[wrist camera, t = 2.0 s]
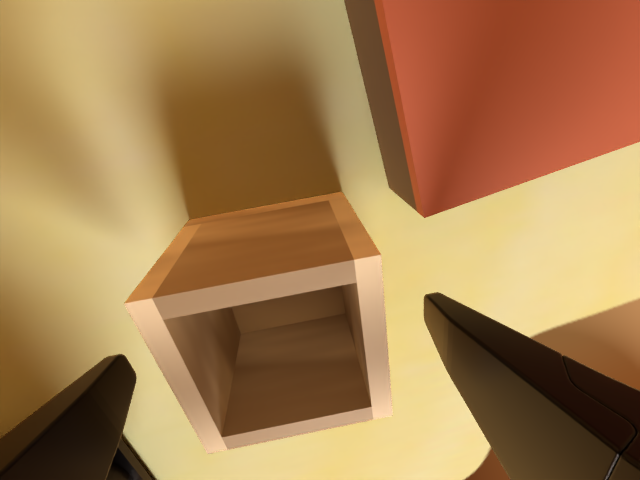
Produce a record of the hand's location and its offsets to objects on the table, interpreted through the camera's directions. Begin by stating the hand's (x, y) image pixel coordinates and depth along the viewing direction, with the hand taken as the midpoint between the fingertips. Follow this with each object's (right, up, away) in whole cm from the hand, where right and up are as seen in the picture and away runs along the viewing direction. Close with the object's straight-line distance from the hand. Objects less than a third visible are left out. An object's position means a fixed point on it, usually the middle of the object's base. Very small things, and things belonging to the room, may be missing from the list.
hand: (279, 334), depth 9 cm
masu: (0, +2, +3) cm, 4 cm away
